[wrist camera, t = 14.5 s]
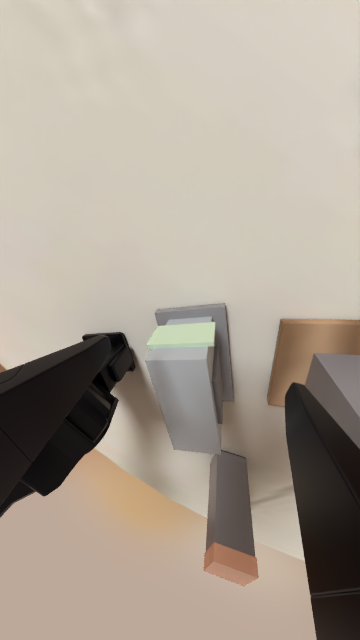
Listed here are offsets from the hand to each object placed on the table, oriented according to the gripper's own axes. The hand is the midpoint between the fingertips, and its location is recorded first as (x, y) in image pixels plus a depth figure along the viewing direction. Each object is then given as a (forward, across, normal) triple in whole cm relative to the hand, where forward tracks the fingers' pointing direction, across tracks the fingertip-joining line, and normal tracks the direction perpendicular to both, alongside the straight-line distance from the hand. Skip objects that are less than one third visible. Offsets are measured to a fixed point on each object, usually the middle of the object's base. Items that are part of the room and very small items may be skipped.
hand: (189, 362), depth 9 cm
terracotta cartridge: (+11, -6, +33) cm, 35 cm away
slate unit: (+12, +1, +10) cm, 16 cm away
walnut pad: (+13, -14, +9) cm, 21 cm away
